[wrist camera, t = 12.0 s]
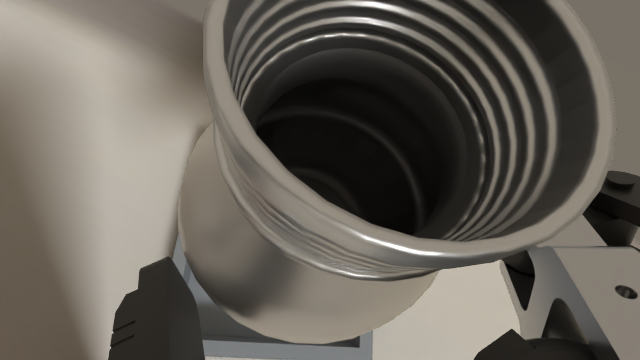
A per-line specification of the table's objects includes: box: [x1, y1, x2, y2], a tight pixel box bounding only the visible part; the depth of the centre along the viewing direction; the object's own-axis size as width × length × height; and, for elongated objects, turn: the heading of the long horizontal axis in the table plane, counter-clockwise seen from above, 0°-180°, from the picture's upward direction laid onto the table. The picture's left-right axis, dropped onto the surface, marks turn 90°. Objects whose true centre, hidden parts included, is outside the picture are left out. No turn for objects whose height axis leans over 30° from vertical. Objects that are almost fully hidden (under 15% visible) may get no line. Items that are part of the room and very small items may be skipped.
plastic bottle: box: [178, 0, 617, 344], centre depth 12 cm, size 6×7×20 cm
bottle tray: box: [172, 232, 373, 360], centre depth 21 cm, size 13×13×2 cm
